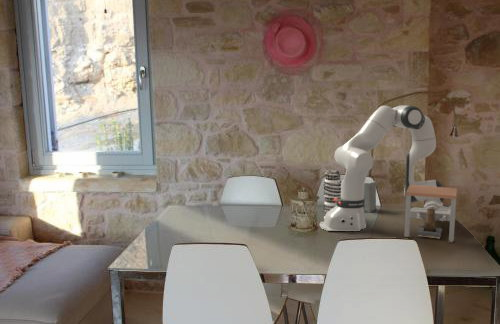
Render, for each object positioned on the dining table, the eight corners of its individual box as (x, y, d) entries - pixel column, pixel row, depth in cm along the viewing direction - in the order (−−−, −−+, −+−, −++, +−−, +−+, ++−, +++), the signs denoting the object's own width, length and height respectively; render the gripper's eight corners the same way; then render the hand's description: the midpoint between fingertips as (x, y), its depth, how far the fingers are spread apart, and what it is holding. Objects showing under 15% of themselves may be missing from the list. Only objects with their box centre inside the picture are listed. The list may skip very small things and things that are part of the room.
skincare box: (370, 212, 285) (370, 183, 282) (357, 210, 289) (358, 182, 286) (376, 209, 291) (377, 180, 288) (364, 207, 295) (365, 179, 293)
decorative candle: (342, 220, 272) (343, 172, 267) (324, 220, 272) (324, 172, 267) (339, 215, 280) (340, 168, 276) (322, 215, 281) (322, 168, 276)
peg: (427, 236, 245) (429, 211, 243) (424, 234, 248) (425, 209, 246) (435, 236, 246) (436, 210, 243) (431, 233, 249) (432, 208, 247)
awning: (407, 228, 257) (409, 184, 253) (454, 233, 249) (457, 188, 245) (404, 238, 243) (406, 192, 239) (453, 243, 235) (456, 195, 231)
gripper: (410, 203, 262) (407, 210, 249) (455, 206, 254) (454, 214, 242) (410, 215, 263) (407, 223, 250) (454, 219, 255) (453, 227, 243)
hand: (430, 218), depth 246 cm, fingers open, 8 cm apart
